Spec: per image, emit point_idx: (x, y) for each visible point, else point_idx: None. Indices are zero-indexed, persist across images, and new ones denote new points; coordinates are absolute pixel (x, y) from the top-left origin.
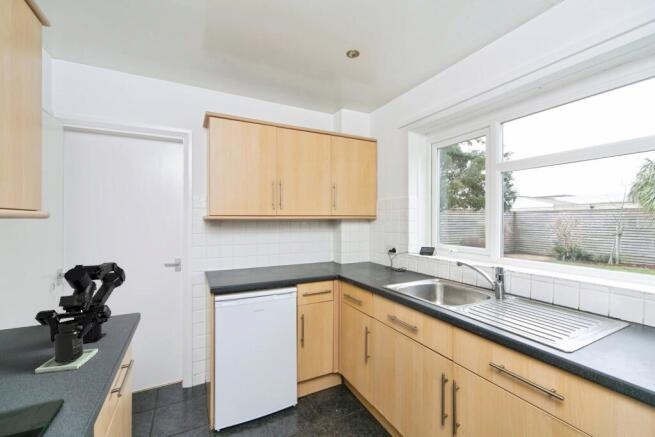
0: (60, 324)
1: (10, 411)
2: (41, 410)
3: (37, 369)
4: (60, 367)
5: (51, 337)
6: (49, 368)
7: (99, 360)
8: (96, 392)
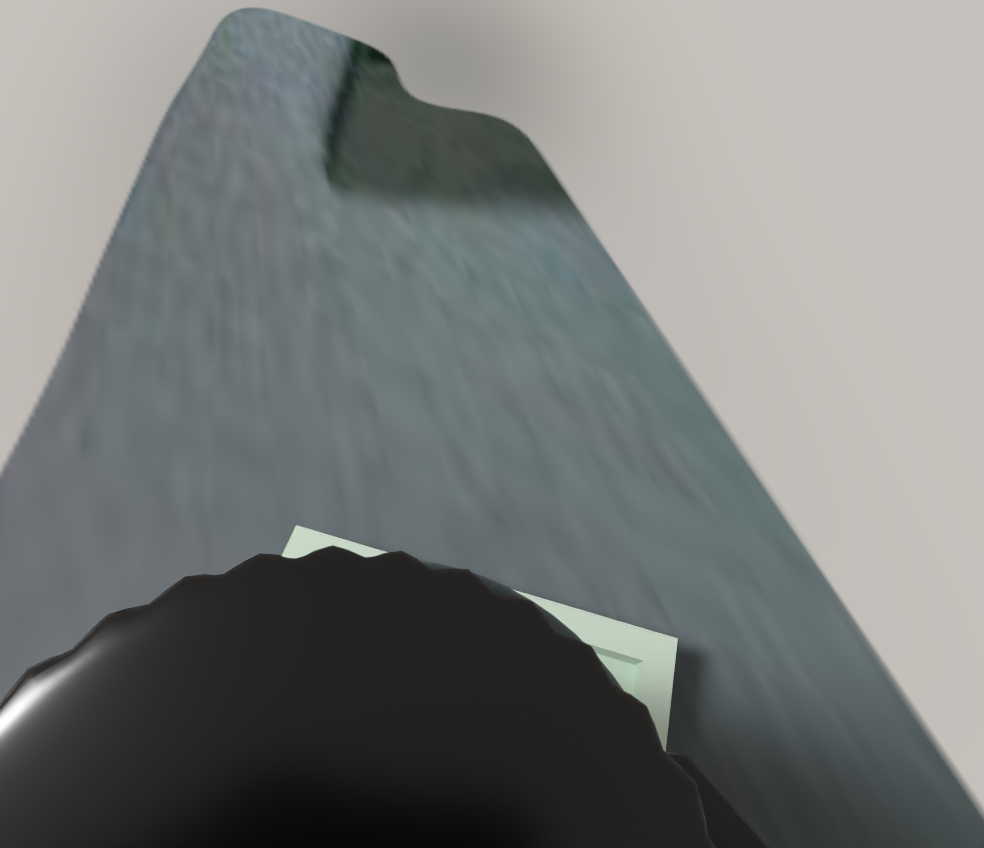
0: (596, 754)
1: (555, 201)
2: (412, 149)
3: (657, 637)
4: None
5: (729, 817)
6: (544, 600)
7: None
8: (174, 168)
